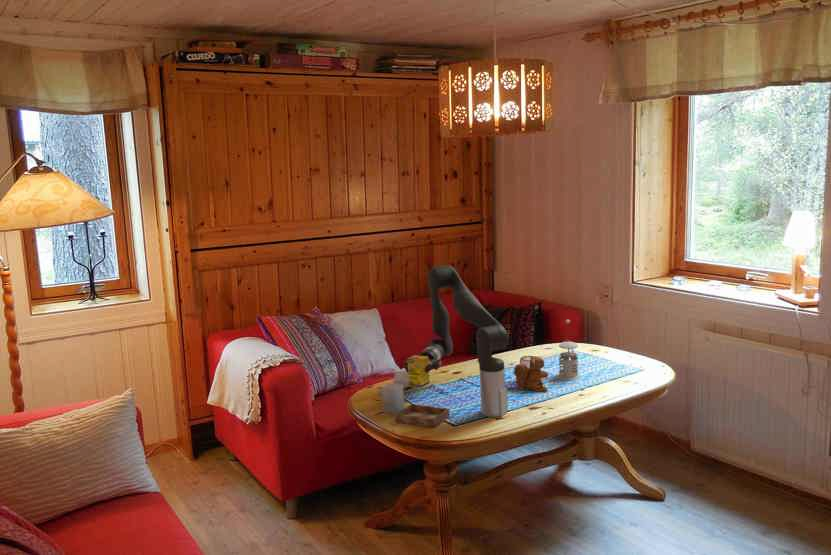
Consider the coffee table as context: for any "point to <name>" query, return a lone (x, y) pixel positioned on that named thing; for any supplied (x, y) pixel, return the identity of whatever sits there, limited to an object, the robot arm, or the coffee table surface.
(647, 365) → the coffee table surface
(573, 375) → the french press
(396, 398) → the grey tin box
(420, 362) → the supplement box
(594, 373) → the coffee table surface
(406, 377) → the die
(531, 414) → the coffee table surface
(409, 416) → the walnut tray
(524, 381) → the stuffed squirrel
